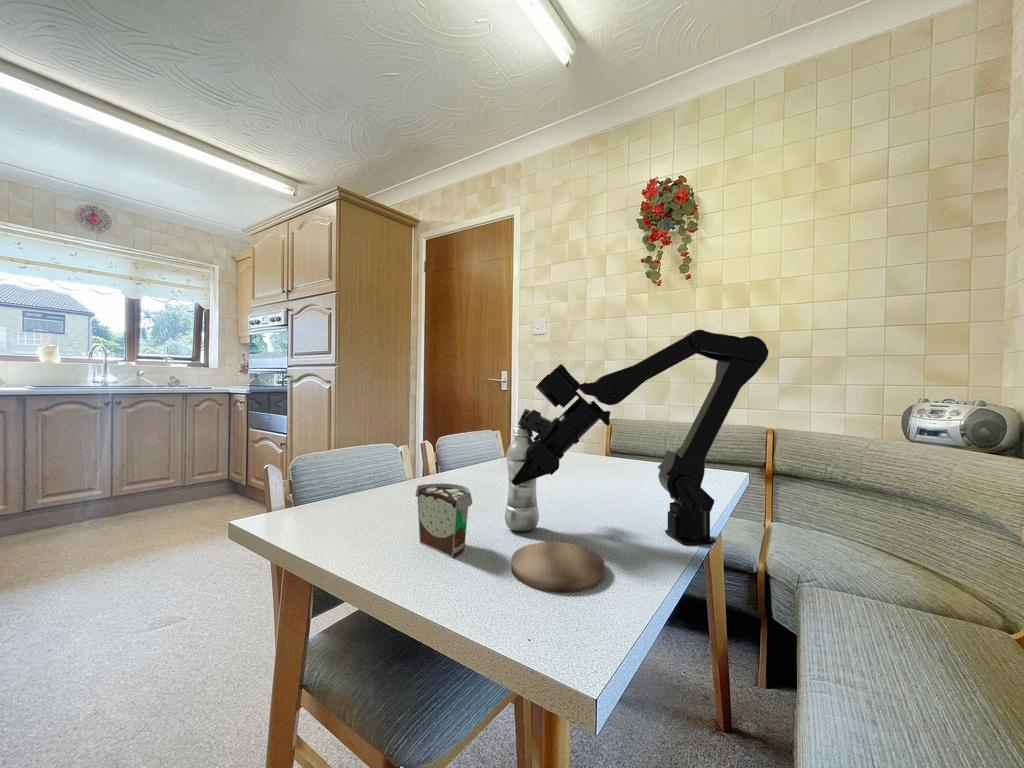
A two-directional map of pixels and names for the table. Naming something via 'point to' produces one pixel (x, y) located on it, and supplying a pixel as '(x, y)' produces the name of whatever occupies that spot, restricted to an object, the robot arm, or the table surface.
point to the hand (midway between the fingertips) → (515, 480)
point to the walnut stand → (558, 567)
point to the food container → (443, 517)
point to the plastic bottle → (520, 485)
